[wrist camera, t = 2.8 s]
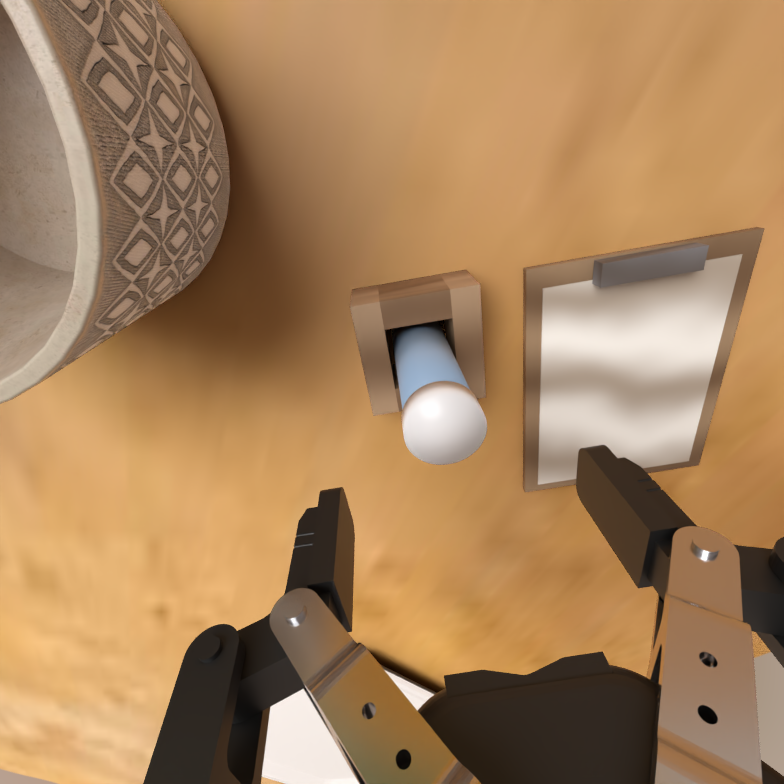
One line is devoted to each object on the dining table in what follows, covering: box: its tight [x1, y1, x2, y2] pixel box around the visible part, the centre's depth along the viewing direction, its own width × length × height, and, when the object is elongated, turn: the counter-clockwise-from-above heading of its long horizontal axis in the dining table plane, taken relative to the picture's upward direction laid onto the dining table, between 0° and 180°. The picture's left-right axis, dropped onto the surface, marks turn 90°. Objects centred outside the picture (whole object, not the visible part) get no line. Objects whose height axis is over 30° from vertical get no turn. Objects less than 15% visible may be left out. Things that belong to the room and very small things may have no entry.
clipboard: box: [523, 227, 764, 492], centre depth 28 cm, size 18×14×2 cm
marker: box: [392, 321, 487, 465], centre depth 21 cm, size 3×3×11 cm
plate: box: [262, 665, 436, 784], centre depth 50 cm, size 29×29×2 cm
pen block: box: [350, 270, 486, 416], centre depth 24 cm, size 7×7×4 cm
